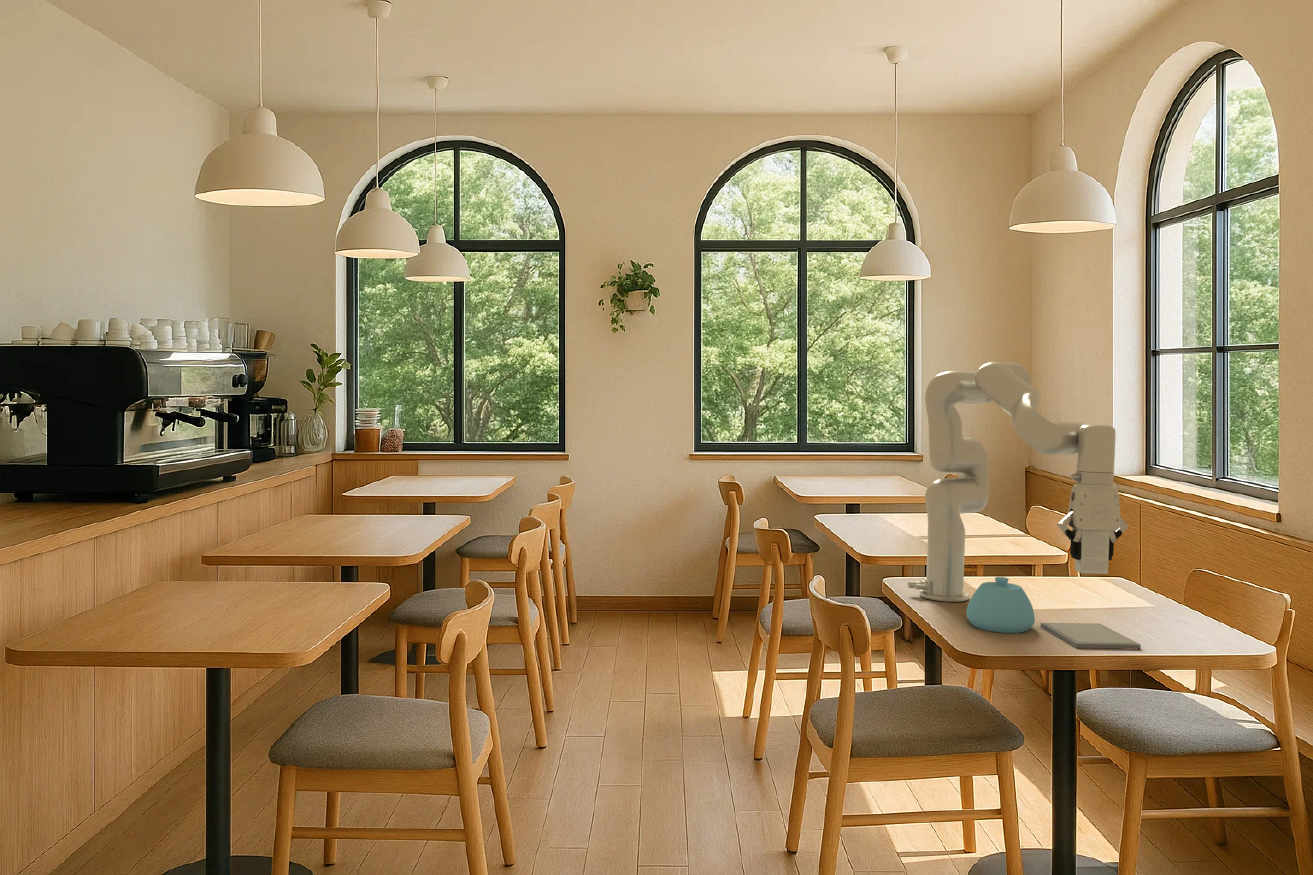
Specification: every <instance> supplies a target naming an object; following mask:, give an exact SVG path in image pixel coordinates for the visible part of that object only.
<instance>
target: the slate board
mask: <svg viewBox="0 0 1313 875" xmlns="http://www.w3.org/2000/svg"><path fill="white" fill-rule="evenodd" d="M1042 627H1043V628H1044V629H1043V628H1042ZM1040 628H1042V629H1043V630H1045V631H1047V632H1048V631H1049V632H1048V633H1050V634H1052V635H1054V636H1055V637H1057V638H1058V637H1059V638H1058V639H1059V640H1062V641H1063V642H1065V643H1067V644H1068V645H1070V646H1072V647H1074V649H1092V648H1142V647H1141V644H1140V643H1138V642H1137V641H1134V640H1132V639H1131V638H1129V637H1127V636H1125V635H1123V634H1121V633H1119V632H1117V631H1115V630H1114V629H1112V628H1109V627H1107V626H1105V625H1103V624H1101V623H1094V622H1093V623H1089V622H1088V623H1087V622H1086V623H1085V622H1084V623H1083V622H1082V623H1079V622H1077V623H1076V622H1040Z"/></svg>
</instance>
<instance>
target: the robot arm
mask: <svg viewBox="0 0 1313 875" xmlns="http://www.w3.org/2000/svg"><path fill="white" fill-rule="evenodd" d="M1031 384H1032V376H1031V374H1030V372H1029V370H1028V369H1027V368H1026V367H1025V366H1024V365H1022V364H1020V363H1016V362H1005V361H1003V362H1002V361H992V362H987V363H984V364H982V365H981V366H980V367H979V368H978V369H977V370H976V371H965V370H949V371H944V372H940V373H938V374H936V375H935V376H934V377H933V378H932V379H931V380H930V381H929V383H928V384H927V386H926V389H925V395H924V401H925V409H926V414H927V415H926V416H927V420H928V421H927V422H928V424H927V425H928V448H929V449H928V451H929V452H928V453H929V463H930V466H931V468H932V470H933V471H936V472H937V473H941V474H957V475H958V477H952V478H951V477H949V478H940V479H939V478H938V479H935V481H933V482H931V483H930V484H929V485H928V486H927V488H926V490H925V494H924V495H925V496H924V498H925V499H924V500H925V508H926V512H927V544H926V545H927V552H926V575H925V577H922V580H921V579H920V580H919V581H916V580H911V581H910V580H908V581H907V588H908V589H915V590H919V596H920V597H922V598H924V599H927V600H932V601H937V602H946V603H947V602H950V603H952V602H953V603H954V602H956V603H957V602H958V603H959V602H966V601H968V600H970V594H969V592H966V591H964V581H965V580H964V577H965V575H964V574H965V571H964V570H965V555H966V554H965V550H966V548H965V547H966V529H965V525H964V521H963V520H962V517H961V514H974V513H978V512H979V513H980V512H981V511H983V510H984V509H985V508H986V506H987V504H988V501H989V495H990V494H989V491H990V490H989V469H988V468H989V467H988V465H989V463H988V454H987V451H986V449H985V446H984V445H983V443H981V442H980V440H978V439H977V438H974V437H969V436H967V437H963V422H962V418H961V416H960V413H959V411H958V410H957V408H956V407H955V405H957V404H959V405H960V404H961V405H963V404H965V405H985V404H990V403H994V404H995V405H997V406H998V408H1000V409H1002V410H1003V411H1004V412H1006V414H1007V415H1009V417H1011V423H1012V425H1013V429H1014V430H1015V432H1016V434H1017V435H1018V436H1019V437H1020V438H1021V439H1022V440H1023V441H1025V443H1027V444H1028V445H1029V446H1030V447H1032V449H1033V450H1036V451H1037V452H1038V453H1042V454H1043V455H1048V456H1058V455H1060V456H1061V455H1063V456H1065V455H1066V456H1069V455H1071V456H1074V455H1077V462H1076V464H1077V465H1076V467H1077V468H1076V471H1075V473H1072V474H1071V475H1070V479H1071V481H1075V483H1076V484H1073V486H1072V489H1071V494H1070V497H1069V498H1070V499H1069V503H1068V513H1067V514H1066V515H1065V516H1064V517H1062V519H1060V521H1058V522H1057V524H1056V525H1057V527H1058V528H1059V529H1060V530H1061V531H1062V532H1063V534H1064V535H1065V536H1066V537H1067V538H1068V540H1069V541H1070V547H1069V548H1070V549H1069V550H1070V551H1069V553H1070V555H1071V556H1070V557H1071V559H1073V560H1075V559H1076V560H1080V559H1081V542H1079V540H1080V538H1081V535H1082V531H1109V561H1112V560H1113V556H1114V551H1115V550H1114V549H1115V547H1114V546H1115V543H1116V542H1117V540H1118V539H1119V538H1120V537H1121V536H1122V535H1123V533H1124V532H1125V531H1126V530H1127V529H1128V528H1129V524H1128V523H1127V522H1126V521H1125V520H1124V519H1123V518H1122V517H1121V503H1120V502H1121V501H1120V495H1119V490H1118V487H1117V486H1116V485H1114V478H1115V477H1114V475H1115V473H1114V472H1115V458H1116V457H1115V456H1116V435H1117V434H1116V429H1115V427H1114V426H1112V425H1109V424H1098V423H1097V424H1088V423H1084V422H1083V423H1082V422H1077V421H1076V422H1073V421H1072V422H1071V421H1069V422H1068V421H1063V422H1062V421H1050V420H1049V419H1047V418H1046V417H1044V415H1042V414H1041V413H1039V412H1038V410H1036V409H1037V408H1038V406H1039V404H1040V401H1041V395H1040V393H1039V391H1038V390H1037V389H1036V388H1035V387H1033V386H1032V385H1031ZM1068 526H1069V527H1068ZM1070 528H1072V529H1070Z"/></svg>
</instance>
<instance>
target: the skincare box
mask: <svg viewBox="0 0 1313 875" xmlns="http://www.w3.org/2000/svg"><path fill="white" fill-rule="evenodd" d="M1079 542H1081V559H1080V560H1076V559H1074V571H1076V572H1078V573H1080V574H1089V575H1090V574H1095V575H1096V574H1097V575H1098V574H1101V575H1108V574H1109V561H1110V560H1109V531H1082V535H1081V538H1080V540H1079Z"/></svg>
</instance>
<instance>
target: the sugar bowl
mask: <svg viewBox="0 0 1313 875" xmlns="http://www.w3.org/2000/svg"><path fill="white" fill-rule="evenodd" d="M994 580H995V581H985V582H983V583H981V584H980V585H979V586H978V587H977V589H976V590H975V591H974V593H973V594H972V596H971V597H970V598H969V601H968V603H967V608H966V618H967V620H968V621H969V622H970V623H971V625H972V626H973V627H975V628H977V629H980V630H984V631H988V632H992V631H993V632H994V633H1000V634H1020V633H1019V632H1022V633H1025V632H1024V631H1026V632H1027V631H1029V630H1030V629H1031V628H1032V627H1033V626H1034V624H1035V623H1036V620H1035V619H1036V617H1035V612H1034V607H1033V604H1032V602H1031V600H1030V599H1029V597H1028V595H1027V594H1026V591H1025V590H1024V589H1023V588H1022V586H1020V585H1018V584H1014V583H1011V582H1009V578H1008V577H1005V576H996V577H994Z"/></svg>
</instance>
